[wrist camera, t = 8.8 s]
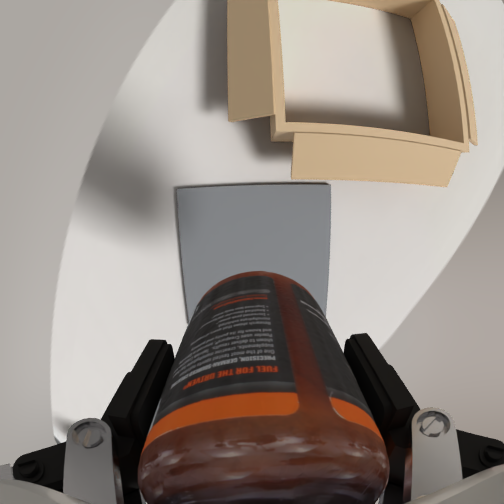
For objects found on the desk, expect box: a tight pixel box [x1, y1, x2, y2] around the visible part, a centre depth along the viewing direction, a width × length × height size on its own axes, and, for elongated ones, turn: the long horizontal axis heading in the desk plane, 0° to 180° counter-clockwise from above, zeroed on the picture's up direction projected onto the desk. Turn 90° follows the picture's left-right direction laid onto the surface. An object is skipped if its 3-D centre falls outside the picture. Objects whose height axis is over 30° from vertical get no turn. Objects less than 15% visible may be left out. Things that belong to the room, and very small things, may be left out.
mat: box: [177, 184, 331, 321], centre depth 23 cm, size 12×12×1 cm
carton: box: [227, 0, 478, 187], centre depth 17 cm, size 21×21×5 cm
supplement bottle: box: [138, 271, 390, 504], centre depth 7 cm, size 6×6×11 cm
